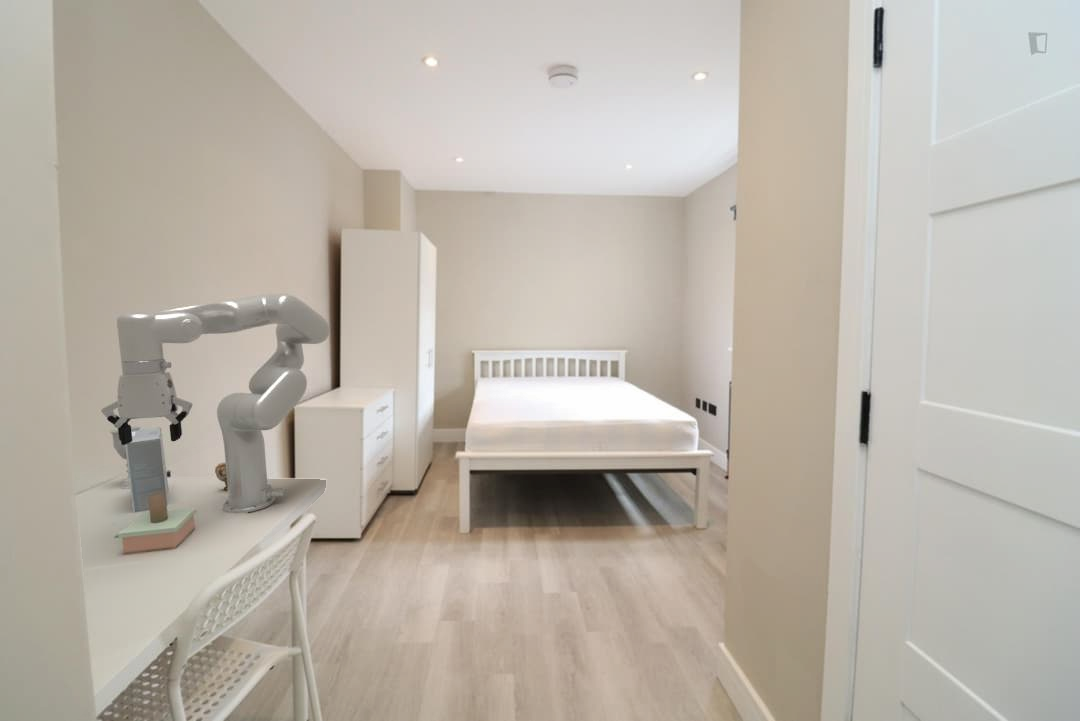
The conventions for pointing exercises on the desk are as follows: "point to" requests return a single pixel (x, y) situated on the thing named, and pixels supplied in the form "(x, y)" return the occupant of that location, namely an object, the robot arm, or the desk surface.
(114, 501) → the desk surface
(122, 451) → the chalice
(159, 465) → the hard drive box
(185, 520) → the lid
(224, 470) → the lion figurine
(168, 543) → the dish
